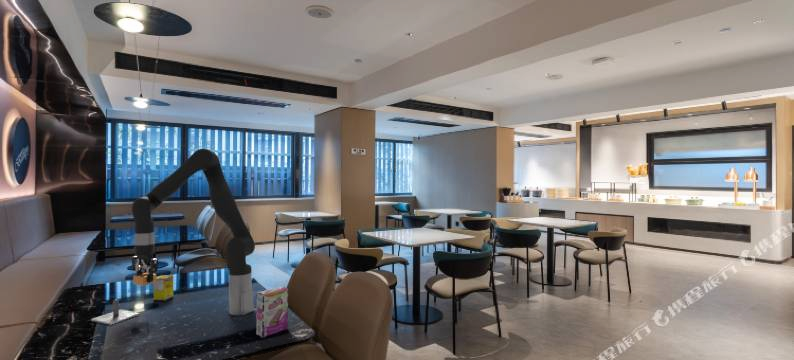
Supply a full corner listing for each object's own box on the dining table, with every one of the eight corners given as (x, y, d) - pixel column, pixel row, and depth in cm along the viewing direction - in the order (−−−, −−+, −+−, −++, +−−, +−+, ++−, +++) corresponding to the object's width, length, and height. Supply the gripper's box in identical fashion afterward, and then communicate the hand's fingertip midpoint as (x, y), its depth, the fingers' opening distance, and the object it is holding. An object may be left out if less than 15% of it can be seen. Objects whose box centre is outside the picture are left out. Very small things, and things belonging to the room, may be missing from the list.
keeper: (139, 314, 166) (139, 296, 166) (110, 325, 155) (110, 306, 155) (121, 311, 170) (120, 293, 170) (91, 321, 159) (90, 302, 159)
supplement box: (173, 297, 189) (173, 275, 188) (165, 301, 183) (164, 278, 182) (162, 297, 189) (162, 274, 189) (153, 301, 183) (153, 278, 183)
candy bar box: (263, 338, 144) (262, 295, 143) (255, 335, 147) (255, 292, 146) (288, 329, 152) (288, 287, 152) (281, 326, 155) (281, 285, 155)
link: (156, 282, 170) (156, 274, 170) (142, 285, 164) (142, 277, 164) (146, 280, 172) (146, 272, 172) (133, 284, 167) (133, 276, 166)
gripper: (164, 242, 169) (164, 281, 169) (141, 240, 174) (142, 277, 174) (147, 245, 162) (147, 285, 162) (124, 242, 167) (124, 281, 167)
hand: (144, 281), depth 168 cm, fingers closed on link, 6 cm apart
